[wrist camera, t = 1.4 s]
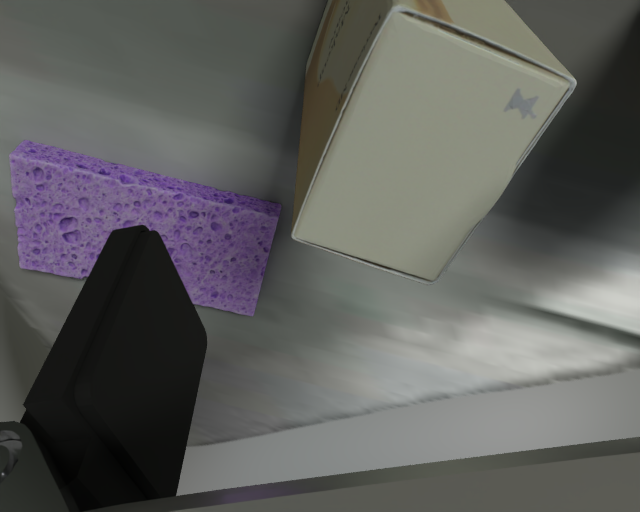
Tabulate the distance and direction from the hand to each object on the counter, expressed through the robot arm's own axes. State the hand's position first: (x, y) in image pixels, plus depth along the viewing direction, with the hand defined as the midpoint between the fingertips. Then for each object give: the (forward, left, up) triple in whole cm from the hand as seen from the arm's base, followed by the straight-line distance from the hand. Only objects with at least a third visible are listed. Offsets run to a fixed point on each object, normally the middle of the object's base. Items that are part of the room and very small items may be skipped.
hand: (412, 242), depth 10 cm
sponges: (+12, +8, -16) cm, 21 cm away
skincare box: (-1, 0, -15) cm, 15 cm away
